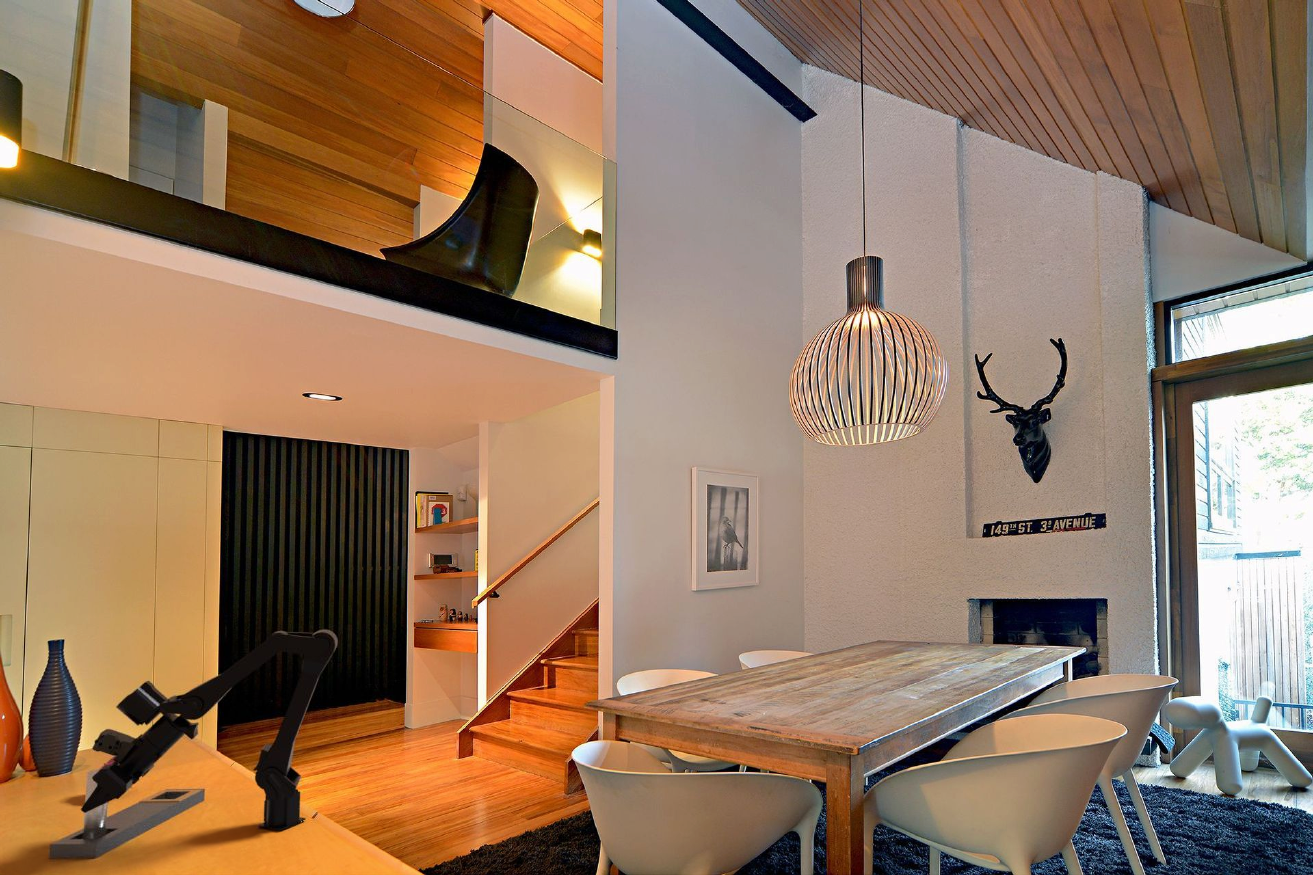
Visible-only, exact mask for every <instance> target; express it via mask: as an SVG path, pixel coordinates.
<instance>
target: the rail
mask: <svg viewBox="0 0 1313 875" xmlns="http://www.w3.org/2000/svg"><path fill="white" fill-rule="evenodd" d="M205 790H206V789H205V788H166V789H163V790H159V791H157V792H155V793H152V794H151V795H149V796H146V797H145V798H143V799H140V800H139V801H138V802H136V803H134V804H132V805H130V806H128V807H126V808H123V809H122V810H119V811H117V812H116V813H113V814H111V815H108V816H107V822H106V835H105V836H103V837H101V838H99V839H83V829H84V827H83V828H81V829H79V830H78V831H75V832H73V833H70V834H69V835H67V836H65V837H62V838H61V839H58V840H56V841H54V842H52V843H50V844H49V854H48V858H54V859H97V858H100V857H101V856H103V855H104V854H106V853H108V852H111V851H113V850H114V849H116V848H117V847H120V846H122V845H124V844H126V843H127V842H129V841H130V840H133V839H135V838H136V837H139V836H140V835H142V834H143V833H144V834H145V832H148V831H149V830H151V829H153V828H156V827H157V826H158V825H161V824H163V823H165V822H166V821H168V820H170V819H172V818H174V817H175V816H178V815H179V814H182V813H183V812H185V811H187V810H189V809H190V808H193V807H195V806H196V805H198V804H200V803H201V802H202V803H203V802H204V801H205V796H206V795H205V793H206V792H205Z"/></svg>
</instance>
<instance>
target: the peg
mask: <svg viewBox="0 0 1313 875" xmlns="http://www.w3.org/2000/svg"><path fill="white" fill-rule="evenodd" d="M99 770H100V769H99V768H97V769H93V770H89V771H87V772H86V781H85V782H86V784H85V797H84V799H85V800H84V803H85V802H86V801H87V799H88V798H89V797H90V795H91V794H92V793H93V791H94V790H95V788H96V787H97V783H96V782H95V781H93V779H92V777H93V776H94V775H95V774H96V773H97V772H98V771H99ZM108 803H109V802H107V803H105V804H103V805H100V806H98V807H96V808H94V809H92V810H90V811H88V812H86V813H84V812H83V814H84V817H83V828H84V829H83V828H82V829H83V839H99V838H101V837H103V836H105V835H106V822H107V817H108Z"/></svg>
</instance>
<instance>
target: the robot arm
mask: <svg viewBox="0 0 1313 875" xmlns="http://www.w3.org/2000/svg"><path fill="white" fill-rule="evenodd" d="M338 643H339V642H338V637H337V635H336V634H335V633H334V632H333V631H332V630H329V629H325V628H324V629H320V630H317V631H316V632H297V631H295V632H292V631H291V632H288V631H284V630H279V631H275V632H273V633H272V634H270V635H269V637H268V638H267V639H266V640H265V641H264V642H262V643H261V644H259V645H258V646H257V647H255V648H254V649H253V650H252V651H250V652H249V653H247V654H245V655H244V656H243V657H242V658H240V659H239V660H238V661H237V662H235V663H234V664H233V665H231V666H230V667H228V668H227V669H226V670H224V671H223V672H222V673H219V674H218V675H216V676H214V677H211V678H210V679H208V680H206V681H204V682H203V683H200V684H199V685H197V686H195V687H193V688H191V689H190V690H188V691H187V692H185V693H183V694H178V695H176V694H175V695H173V696H170V697H169V698H168V697H167V696H166V695H165V694H163V693H162V692H161V691H160V690H159V689H157V688H156V687H155V685H154V684H153V683H152V681H150V680H147V681H145V682H143V683H142V684H141V685H140V686H138V687H137V688H136V689H135V690H134V691H133V692H131V693H129V694H127V695H126V696H125V697H124V698H123V699H122V700H121V701H119V703H118V704H117V705H116V706H115V708H117V710H119V711H120V712H121V713H122V714H123V715H124V716H125V717H127V719H129V720H130V721H131V722H133V723H134V724H135V725H136V726H137V727H139V726H143V725H145V726H148V725H149V724H151V723H152V722H153V721H154V720H155V719H156V718H157V717H158V716H159V715H160V714H161V716H160V717H159V718H158V719H157V720H156V721H155V722H154V723H153V724H152V725H151V726H150V727H149V728H148V729H147V730H145V732H143V733H141V734H140V735H138V737H133V736H131V735H129V734H126V733H123V732H120V731H117V730H116V729H115V730H114V729H111V728H106V729H105V730H102V731H101V732H100V733H99V735H98V737H97V738H96V739H95V740H94V744H93V746H92V748H91V749H92V750H93V751H95V752H98V753H99V752H101V753H104V754H106V755H110V756H112V757H114V756H116V757H115V758H114V759H113V760H114V761H115V762H113V763H112V764H109V765H106V766H104V767H103V768H102V769H100V770H99V771H98V772H97V773H96V774H95V775H94V776H93V777H92V779H93V781H95V782H96V783H97V787H96V788H95V790H94V791H93V793H92V794H91V795H90V797H89V798H88V799H87V801H86V802H85V801H84V804H83V805H82V806H81V808H80V811H81V812H83V814H84V813H86V812H88V811H90V810H92V809H94V808H96V807H98V806H100V805H103V804H105V803H107V802H108V803H109V802H111V801H113V800H119V799H120V798H121V797H123V796H124V794H125V793H126V792H128V791H129V790H130V789H132V788H133V785H135V784H136V783H137V782H138V781H140V778H141V777H142V778H144V777H145V776H146V775H147V774H148V773H149V772H151V771H152V770H153V769H154V767H155V763H157V762H158V761H159V760H160V759H161V758H162V757H163V756H164V755H165V754H166V753H167V752H168V751H170V749H171V748H172V747H174V745H175V744H176V743H177V742H179V741H180V739H182V738H183V737H184V735H185V736H186V737H187V738H189V739H190V740H193V739H195V738H196V737H197V736H198V734H199V731H198V730H199V729H198V728H199V725H200V723H199V722H191V721H195V720H199V719H200V718H201V719H202V718H203V717H204V716H205V715H206V714H208V713H209V712H211V710H212V709H213V708H214V707H215V706H216V705H217V704H218V703H219V702H220V701H221V700H222V699H223V698H224V697H225V696H226V695H227V693H228V692H230V690H231V689H232V688H233V687H235V686H236V685H238V684H239V683H240V682H241V681H243V679H245V678H246V677H248V676H249V675H250V674H252V673H253V672H255V671H256V670H257V669H258V668H260V667H261V666H262V665H264V664H265V663H266V662H268V661H270V659H272V658H273V657H274V656H276V655H277V654H278V653H288V654H296V655H297V654H298V655H303V659H302V666H301V673H300V676H299V677H298V681H297V683H296V685H295V689H294V690H293V694H292V696H291V698H290V701H289V704H288V706H287V709H286V712H285V714H284V717H283V719H282V721H281V724H280V727H279V728H278V732H277V734H276V737H275V740H274V741H273V742H272V744H269V743H265V744H264V746H263V747H262V749H261V750H260V753H259V754H260V755H259V758H258V762H257V763H256V765H255V767H254V768H253V769H252V770H253V771H254V772H255V776H254V781H255V783H256V785H257V786H258V788H259V789H261V790H263V791H264V794H265V800H264V802H263V803H264V804H263V822H261V823H258V825H257V828H259V829H267V830H271V829H274V830H273V831H278V830H279V831H280V830H281V831H284V830H286V828H287V829H289V828H291V827H293V826H292V825H294V826H296V825H298V824H300V823H299V822H301V821H303V820H305V821H306V817H301V816H300V815H301V814H300V812H301V811H300V810H301V791H299V790H298V789H297V787H298V785H299V782H300V780H301V778H302V775H301V774H300V773H299V772H298V771H296V769H294V768H293V767H292V766H291V765H292V761H293V760H292V759H293V756H294V755H293V754H294V748H295V744H296V742H295V741H296V738H297V737H298V734H299V731H300V728H301V725H302V723H303V721H304V717H305V715H306V712H307V710H308V707H309V705H310V703H311V702H310V701H311V699H312V697H313V694H314V692H315V689H316V687H317V684H318V681H319V678H320V676H321V674H322V673H323V671H324V669H325V668H326V666H327V665H328V663H329V661H330V659H331V658H332V656H333V654H334V653H335V651H336V648H338V645H339V644H338ZM131 787H132V788H131ZM303 822H304V821H303ZM297 823H298V824H297ZM301 823H302V822H301ZM290 826H291V827H290ZM288 827H289V828H288ZM275 829H276V830H275ZM283 829H284V830H283ZM279 831H278V832H279ZM281 831H280V832H281Z"/></svg>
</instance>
